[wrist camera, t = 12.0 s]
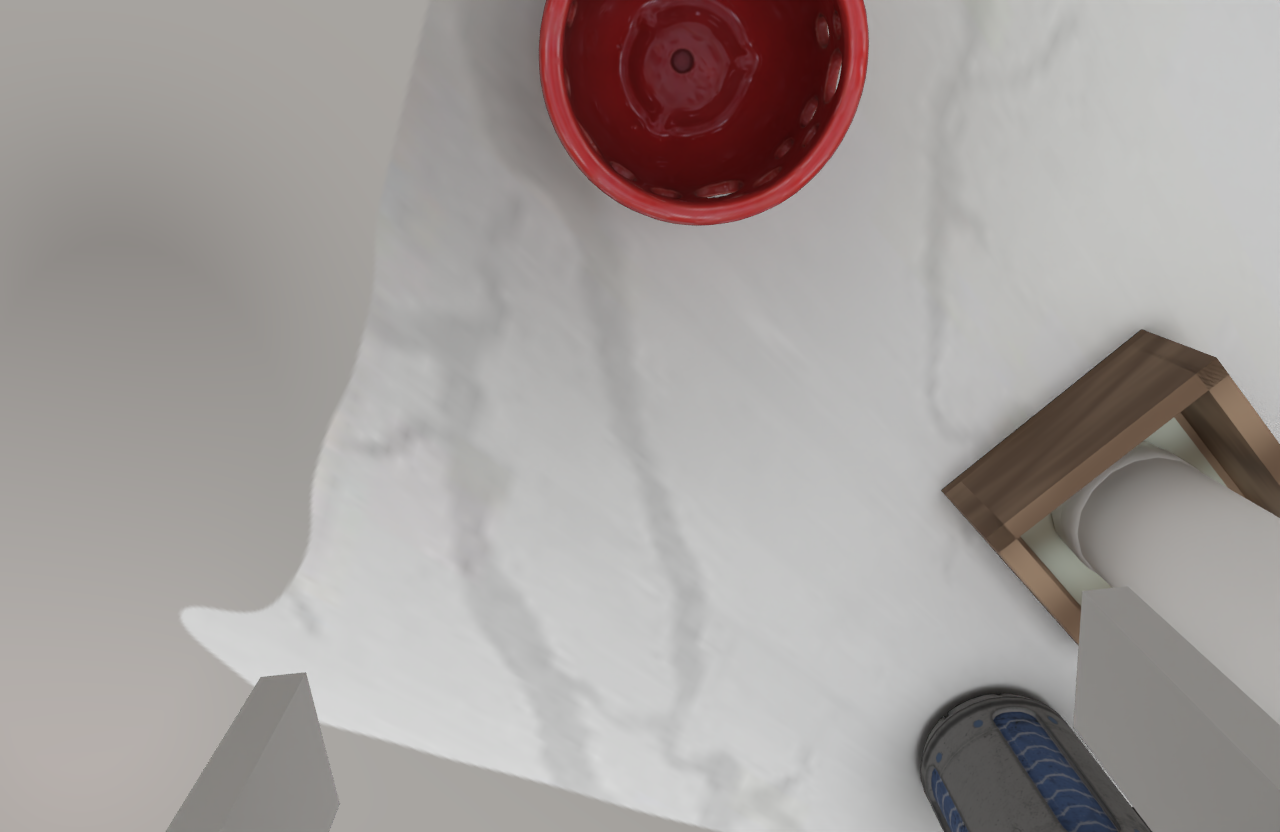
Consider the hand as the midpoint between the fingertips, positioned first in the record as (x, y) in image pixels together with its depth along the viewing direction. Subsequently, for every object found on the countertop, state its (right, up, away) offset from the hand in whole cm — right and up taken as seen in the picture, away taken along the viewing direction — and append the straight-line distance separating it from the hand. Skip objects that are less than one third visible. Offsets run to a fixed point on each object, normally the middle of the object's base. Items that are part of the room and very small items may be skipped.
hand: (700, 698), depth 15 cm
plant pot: (+1, +23, +31) cm, 38 cm away
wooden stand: (+27, 0, +39) cm, 48 cm away
